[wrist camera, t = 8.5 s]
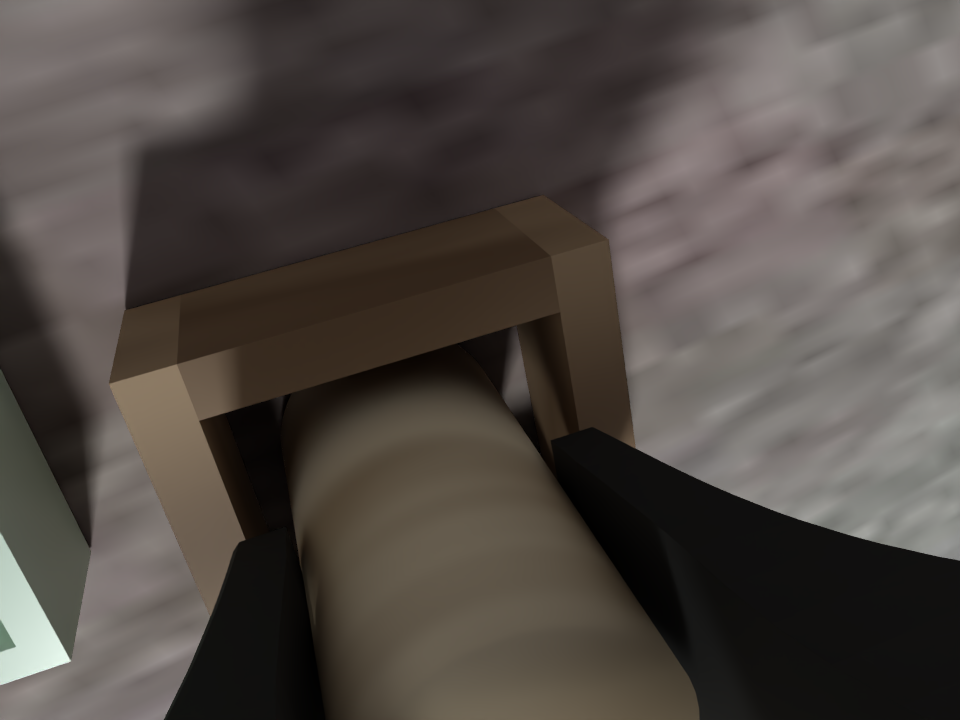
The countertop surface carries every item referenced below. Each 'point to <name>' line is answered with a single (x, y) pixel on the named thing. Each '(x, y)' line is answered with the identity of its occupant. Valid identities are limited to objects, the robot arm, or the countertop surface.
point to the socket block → (363, 350)
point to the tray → (35, 554)
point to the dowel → (457, 561)
